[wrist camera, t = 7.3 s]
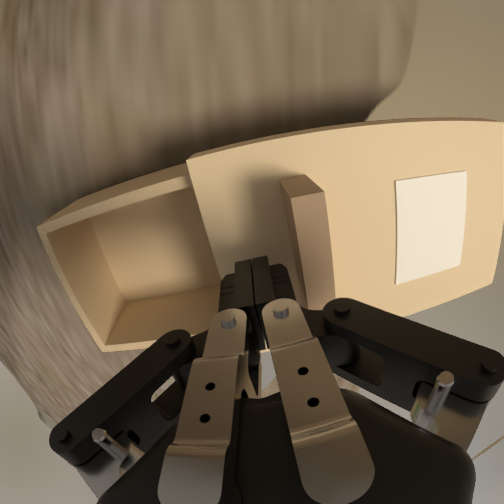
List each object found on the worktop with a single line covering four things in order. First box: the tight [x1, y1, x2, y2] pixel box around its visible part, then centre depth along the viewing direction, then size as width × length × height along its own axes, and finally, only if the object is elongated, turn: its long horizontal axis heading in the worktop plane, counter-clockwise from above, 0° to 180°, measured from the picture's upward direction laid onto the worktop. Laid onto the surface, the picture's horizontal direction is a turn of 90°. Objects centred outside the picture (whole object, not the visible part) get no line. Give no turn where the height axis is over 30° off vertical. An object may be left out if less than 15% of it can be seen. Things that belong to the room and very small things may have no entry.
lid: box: [186, 117, 504, 353], centre depth 13 cm, size 12×19×5 cm, turn 102°
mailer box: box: [36, 162, 222, 352], centre depth 18 cm, size 10×18×6 cm, turn 102°
